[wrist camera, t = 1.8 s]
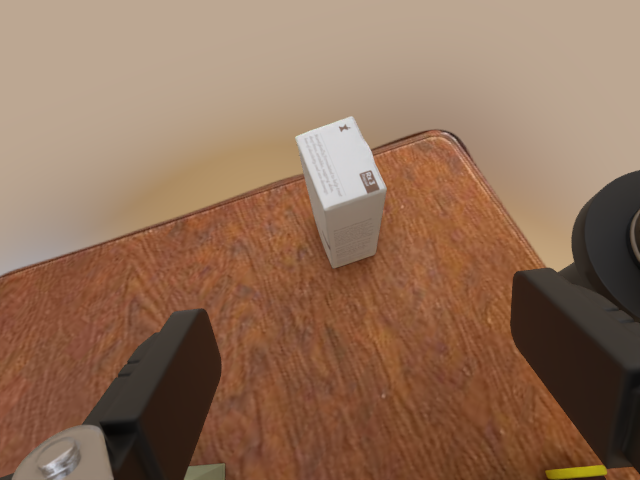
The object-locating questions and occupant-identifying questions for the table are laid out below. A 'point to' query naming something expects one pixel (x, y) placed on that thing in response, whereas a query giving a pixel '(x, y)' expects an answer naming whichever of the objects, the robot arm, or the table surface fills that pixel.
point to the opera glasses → (578, 473)
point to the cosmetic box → (343, 190)
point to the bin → (206, 472)
